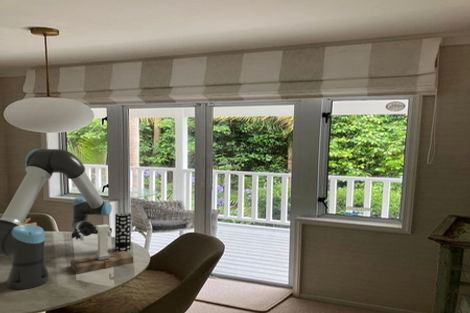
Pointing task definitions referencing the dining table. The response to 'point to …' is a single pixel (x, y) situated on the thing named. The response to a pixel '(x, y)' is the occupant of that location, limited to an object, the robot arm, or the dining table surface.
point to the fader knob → (102, 242)
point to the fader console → (101, 262)
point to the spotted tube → (122, 232)
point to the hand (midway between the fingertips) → (97, 236)
